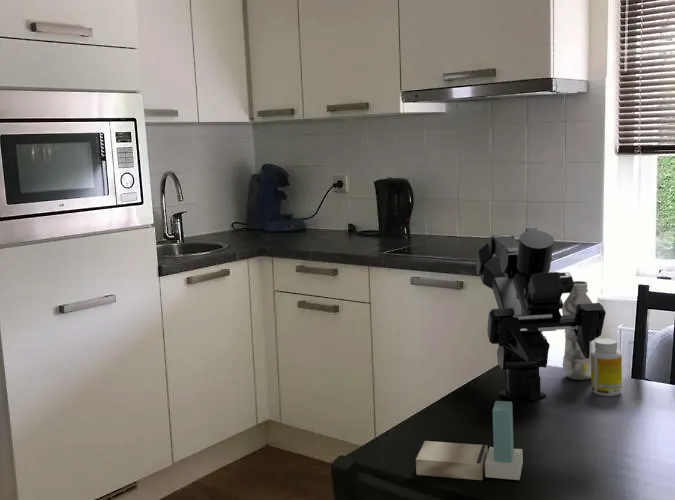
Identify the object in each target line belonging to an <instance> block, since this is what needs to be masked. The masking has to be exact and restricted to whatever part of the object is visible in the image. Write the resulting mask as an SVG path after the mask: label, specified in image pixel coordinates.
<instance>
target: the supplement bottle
mask: <svg viewBox="0 0 675 500" xmlns="http://www.w3.org/2000/svg"><path fill="white" fill-rule="evenodd" d="M622 358H623V357H622V352H621V351H620V350H618V341H617V340H615V339H611V338H596V339H595V341H594V348H593V350H592V352H591V378H590V379H591V382H590V383H591V384H590V386H591V391H592V392H593V393H594V394H596V395H598V396H602V397H614V396H618V395H620V394H622V391H623V387H622V385H623V376H622V375H623V374H622V373H623V372H622V371H623V370H622V369H623V368H622V367H623V366H622V365H623V364H622V363H623V362H622Z"/></svg>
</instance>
